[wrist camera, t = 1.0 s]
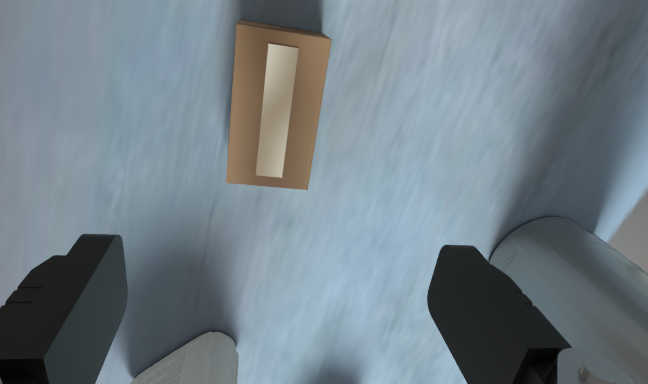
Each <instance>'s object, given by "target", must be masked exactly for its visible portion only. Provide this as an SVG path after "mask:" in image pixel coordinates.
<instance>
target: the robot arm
mask: <svg viewBox="0 0 648 384" xmlns="http://www.w3.org/2000/svg"><path fill="white" fill-rule="evenodd" d="M127 293H128V291H127V279H126V269H125V259H124V249H123V241H122V238H121V236H120V235H107V234H83V235H81V236H80V237H79V239H78V240H77V241H76V243H75V244H74V246H73V247H72V248H71V250H70V251H69V252H68V254H67V255H66V256H61V255H54V256H52V257H51V258H49V259H48V260H46V261H45V262H43V263H41V264H40V265H38V266H37V267H35V268H34V269H32V270H31V271H30V272H29V274H28V275H27V276H26V277H25V279H24V280H23V281H22V282H21V283H20V285H19V286H18V289H17V290H15V291H14V292H13V293H12V294H11V296H10V297H9V298H8V299H7V301H6V304H5V306H2V307H1V308H0V384H95V382H96V380H97V377H98V375H99V373H100V370H101V368H102V366H103V363H104V361H105V358H106V356H107V354H108V351H109V349H110V346H111V344H112V342H113V339H114V337H115V335H116V332H117V330H118V327H119V325H120V323H121V320H122V318H123V315H124V312H125V308H126V303H127ZM427 301H428V308H429V312H430V314H431V316H432V318H433V320H434V322H435V324H436V326H437V328H438V329H439V331H440V333H441V335H442V337H443V339H444V341H445V343H446V344H447V346H448V348H449V350H450V352H451V354H452V356H453V357H454V359H455V361H456V363H457V365H458V367H459V369H460V371H461V372H462V374H463V376H464V378H465V380H466V382H467V384H648V273H647V272H646V271H645V270H643V269H642V268H641V267H639V266H638V265H637V264H635V263H634V262H632V261H631V260H629V259H628V258H627V257H625V256H624V255H623V254H621V253H620V252H619V251H617V250H616V249H614V248H613V247H612V246H610V245H609V244H607V243H606V242H605V241H603V240H602V239H601V238H599V237H598V236H596V235H595V234H590V233H589V232H588V231H586V230H585V229H583V228H582V227H581V226H579V225H578V224H576V223H575V222H573V221H572V220H569V219H566V218H563V217H546V218H540V219H537V220H534V221H531V222H528V223H526V224H524V225H522V226H520V227H519V228H517V229H516V230H514V231H513V232H512V233H510V234H509V235H508V236H507V237H506V238H505V239H504V240H503V241H502V242H501V243H500V244H499V246H498V247H497V248H496V250H495V251H494V253H493V255H492V257H491V259H490V262H488V261H487V260H486V259H485V258H484V257H483V255H482V254H481V253H480V252H479V251H478V250H477V248H476V247H474V246H468V245H444V246H443V247H442V248H441V250H440V253H439V256H438V259H437V263H436V266H435V269H434V273H433V276H432V279H431V283H430V286H429V290H428V296H427Z"/></svg>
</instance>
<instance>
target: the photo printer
mask: <svg viewBox="0 0 648 384" xmlns="http://www.w3.org/2000/svg"><path fill="white" fill-rule="evenodd" d="M237 375H238V353H237V352H236V347H235V343H234V341H233V340H232V339H231V338H230V337H229V336H227V335H225V334H223V333H220V332H207V333H205V334H203V335H201V336H199V337H197V338H195V339H194V340H192V341H190V342H189V343H187V344H185V345H184V346H182V347H181V348H179V349H177V350H176V351H174V352H173V353H171V354H169V355H168V356H166V357H165V358H163V359H162V360H160V361H159V362H157V363H155V364H154V365H152V366H151V367H149V368H148V369H146V370H145V371H144V372H142V373H141V374H139V375H138V376H137V377H136V378H135V379H134V380H133V381H132V382H131V383H130V384H237Z"/></svg>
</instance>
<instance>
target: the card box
mask: <svg viewBox="0 0 648 384" xmlns="http://www.w3.org/2000/svg"><path fill="white" fill-rule="evenodd" d="M331 40H332V39H330V38H329V37H327V36H326V35H324V34H323V33H318V32H312V31H306V30H300V29H294V28H288V27H282V26H276V25H270V24H264V23H258V22H251V21H245V20H239V22H238V23H237V25H236V41H235V56H234V71H233V87H232V102H231V117H230V133H229V148H228V163H227V179H226V183H235V184H246V185H258V186H269V187H281V188H292V189H303V190H308V184H309V178H310V172H311V165H312V159H313V153H314V147H315V140H316V134H317V128H318V122H319V115H320V109H321V103H322V96H323V90H324V84H325V78H326V71H327V65H328V59H329V53H330V46H331Z"/></svg>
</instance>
